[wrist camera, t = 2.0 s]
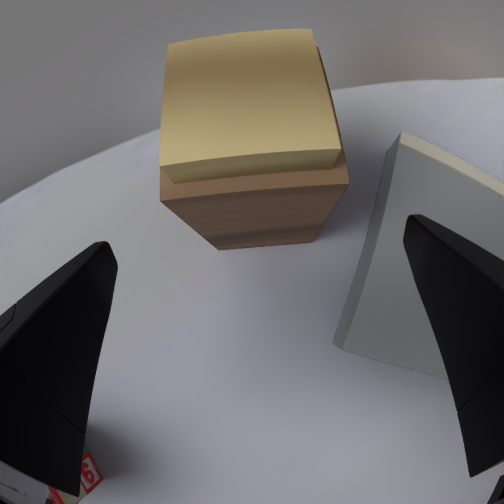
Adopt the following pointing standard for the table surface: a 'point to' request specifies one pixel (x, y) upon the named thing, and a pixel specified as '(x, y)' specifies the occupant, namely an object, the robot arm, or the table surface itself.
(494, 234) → the dock
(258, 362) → the table surface
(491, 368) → the robot arm
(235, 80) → the brown rectangular block
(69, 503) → the stack of blocks
